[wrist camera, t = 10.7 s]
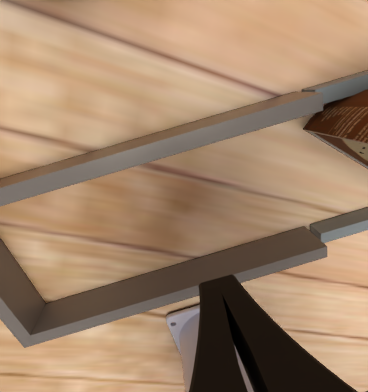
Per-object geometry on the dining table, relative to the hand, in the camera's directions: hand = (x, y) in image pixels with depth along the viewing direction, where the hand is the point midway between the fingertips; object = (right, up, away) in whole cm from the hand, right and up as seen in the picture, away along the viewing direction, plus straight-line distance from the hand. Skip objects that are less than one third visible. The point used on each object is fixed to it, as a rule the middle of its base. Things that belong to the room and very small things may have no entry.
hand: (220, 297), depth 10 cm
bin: (-4, +2, +10) cm, 11 cm away
